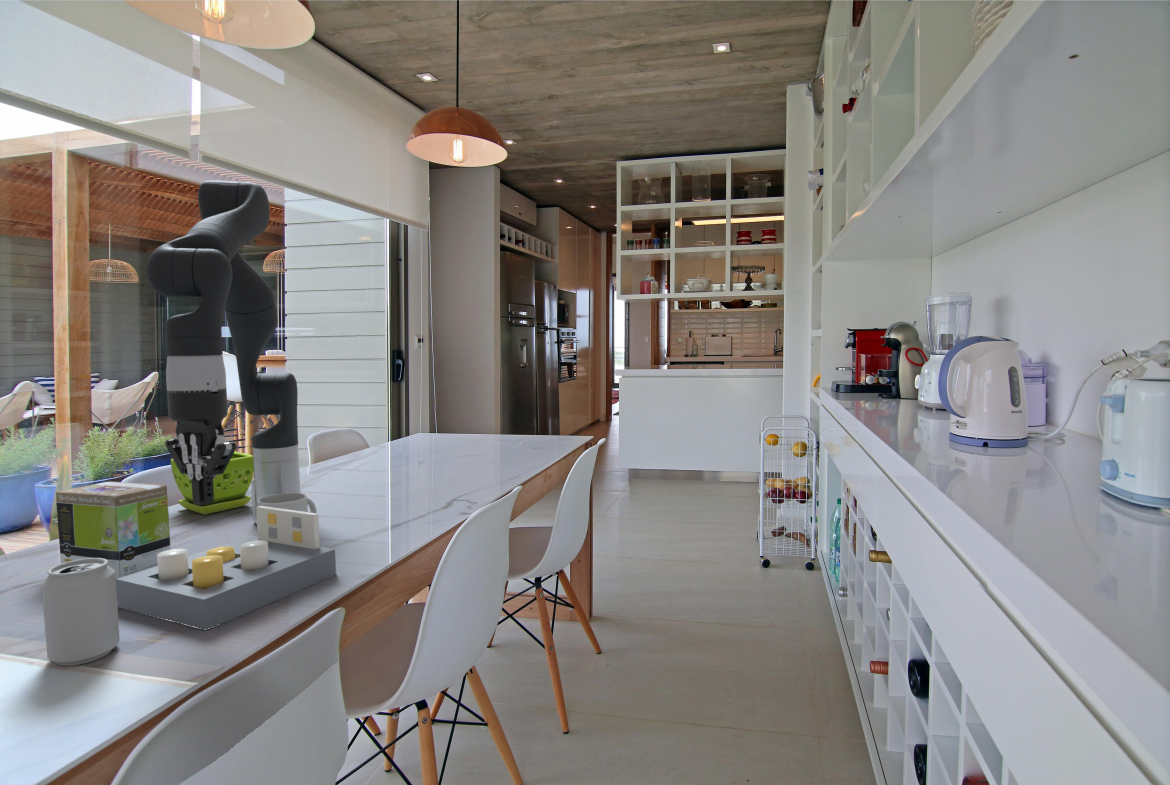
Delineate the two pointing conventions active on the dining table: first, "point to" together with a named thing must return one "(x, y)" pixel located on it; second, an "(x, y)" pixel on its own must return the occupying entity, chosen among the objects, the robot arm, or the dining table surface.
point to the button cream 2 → (254, 555)
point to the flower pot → (220, 486)
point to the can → (80, 611)
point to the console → (237, 575)
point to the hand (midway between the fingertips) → (203, 503)
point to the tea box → (114, 524)
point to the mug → (288, 502)
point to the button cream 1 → (172, 564)
